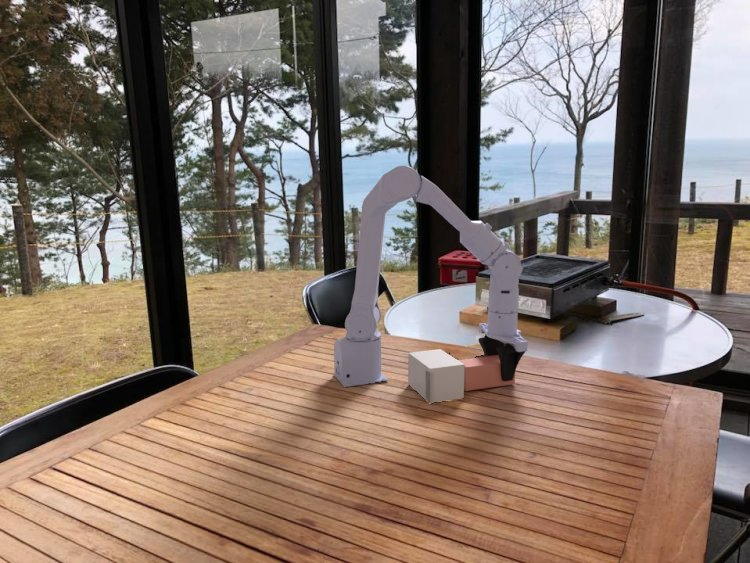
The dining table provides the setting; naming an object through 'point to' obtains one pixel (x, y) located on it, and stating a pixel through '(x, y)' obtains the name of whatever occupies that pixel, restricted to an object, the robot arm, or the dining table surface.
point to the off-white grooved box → (436, 375)
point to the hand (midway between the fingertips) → (500, 376)
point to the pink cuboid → (483, 373)
